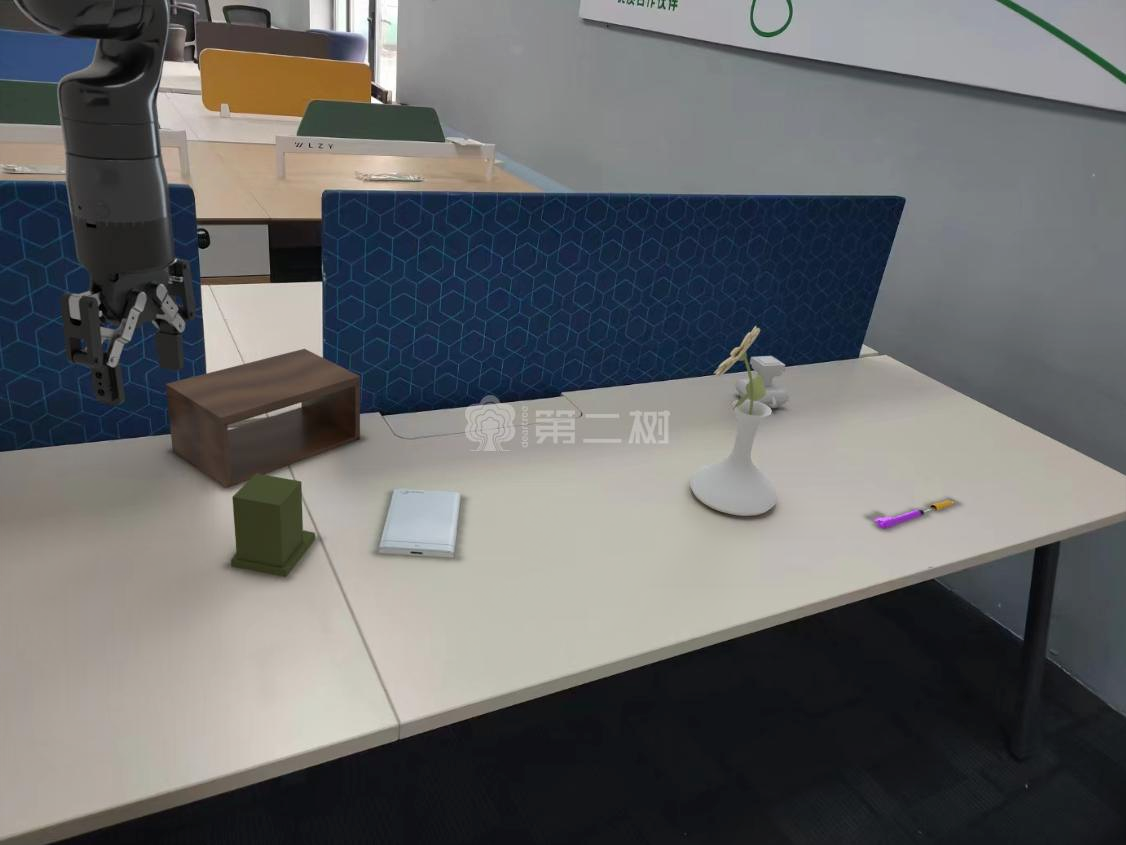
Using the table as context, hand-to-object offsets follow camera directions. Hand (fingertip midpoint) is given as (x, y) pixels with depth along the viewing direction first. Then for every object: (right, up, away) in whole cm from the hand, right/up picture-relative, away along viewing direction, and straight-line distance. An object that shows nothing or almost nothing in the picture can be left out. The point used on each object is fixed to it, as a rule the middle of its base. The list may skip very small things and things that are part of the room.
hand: (143, 385), depth 77 cm
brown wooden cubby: (0, -7, +33) cm, 34 cm away
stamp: (+72, -1, +65) cm, 96 cm away
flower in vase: (+60, -14, +34) cm, 71 cm away
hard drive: (+22, -16, +21) cm, 34 cm away
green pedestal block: (+8, -18, +12) cm, 23 cm away
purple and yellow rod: (+86, -16, +37) cm, 95 cm away
